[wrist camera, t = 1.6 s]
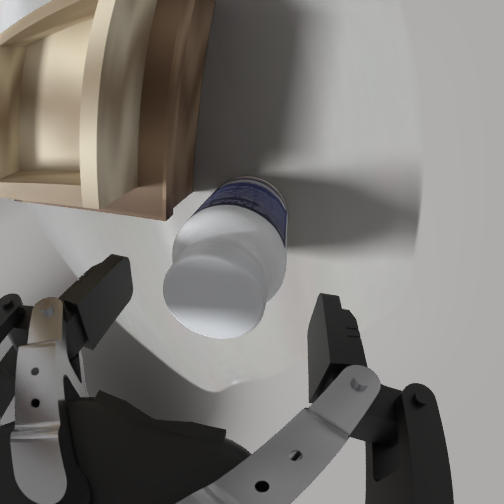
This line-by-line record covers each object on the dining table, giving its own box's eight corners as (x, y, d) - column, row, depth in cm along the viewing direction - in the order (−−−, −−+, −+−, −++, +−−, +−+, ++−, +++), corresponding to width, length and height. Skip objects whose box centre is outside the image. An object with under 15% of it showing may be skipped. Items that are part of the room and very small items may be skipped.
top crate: (29, 39, 9) (-6, 38, 6) (159, -7, 8) (124, -30, 5) (22, 180, 14) (-12, 196, 11) (137, 187, 13) (99, 209, 10)
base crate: (62, 32, 12) (22, 27, 8) (218, -1, 12) (195, -33, 7) (53, 182, 19) (14, 200, 15) (195, 195, 18) (165, 221, 14)
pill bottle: (204, 178, 18) (129, 239, 9) (285, 172, 17) (281, 231, 8) (216, 250, 20) (167, 346, 12) (289, 247, 19) (286, 353, 11)
